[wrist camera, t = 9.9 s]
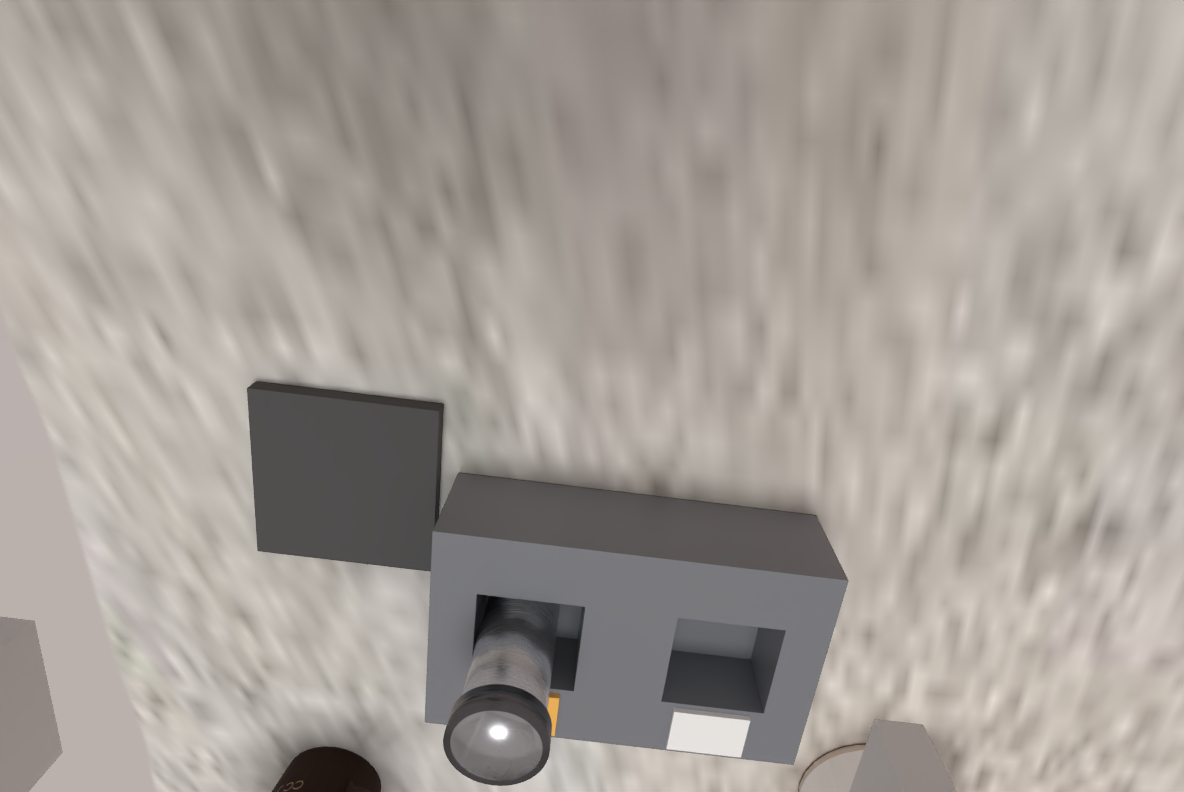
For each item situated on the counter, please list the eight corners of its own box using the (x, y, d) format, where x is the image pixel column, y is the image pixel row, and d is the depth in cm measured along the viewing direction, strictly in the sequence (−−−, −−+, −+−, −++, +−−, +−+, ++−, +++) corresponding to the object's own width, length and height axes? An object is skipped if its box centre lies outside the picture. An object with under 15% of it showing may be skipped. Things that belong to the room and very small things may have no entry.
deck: (256, 381, 38) (247, 388, 37) (443, 404, 38) (439, 411, 37) (265, 541, 42) (257, 550, 41) (436, 561, 42) (432, 571, 41)
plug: (486, 561, 39) (445, 699, 30) (569, 571, 39) (554, 712, 30) (481, 628, 41) (441, 779, 32) (561, 637, 41) (544, 790, 32)
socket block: (458, 472, 40) (431, 534, 34) (816, 515, 40) (850, 584, 34) (449, 645, 44) (423, 726, 38) (771, 682, 44) (794, 769, 38)
